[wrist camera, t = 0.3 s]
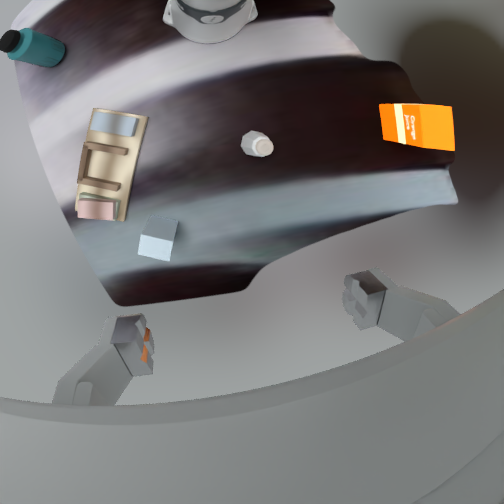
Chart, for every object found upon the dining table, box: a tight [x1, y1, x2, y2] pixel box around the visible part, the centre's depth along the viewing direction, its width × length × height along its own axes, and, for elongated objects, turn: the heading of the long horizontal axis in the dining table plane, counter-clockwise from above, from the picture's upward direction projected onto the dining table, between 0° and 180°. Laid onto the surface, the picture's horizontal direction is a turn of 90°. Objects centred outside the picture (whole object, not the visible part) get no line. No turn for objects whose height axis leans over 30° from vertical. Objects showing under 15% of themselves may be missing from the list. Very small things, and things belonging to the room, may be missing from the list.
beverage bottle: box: [0, 28, 65, 67], centre depth 26 cm, size 6×7×20 cm
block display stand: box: [75, 108, 149, 222], centre depth 47 cm, size 12×22×6 cm, turn 162°
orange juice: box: [379, 104, 455, 151], centre depth 45 cm, size 8×9×20 cm
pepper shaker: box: [241, 131, 273, 157], centre depth 48 cm, size 5×5×11 cm
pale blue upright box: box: [138, 215, 178, 261], centre depth 52 cm, size 6×4×11 cm, turn 72°
